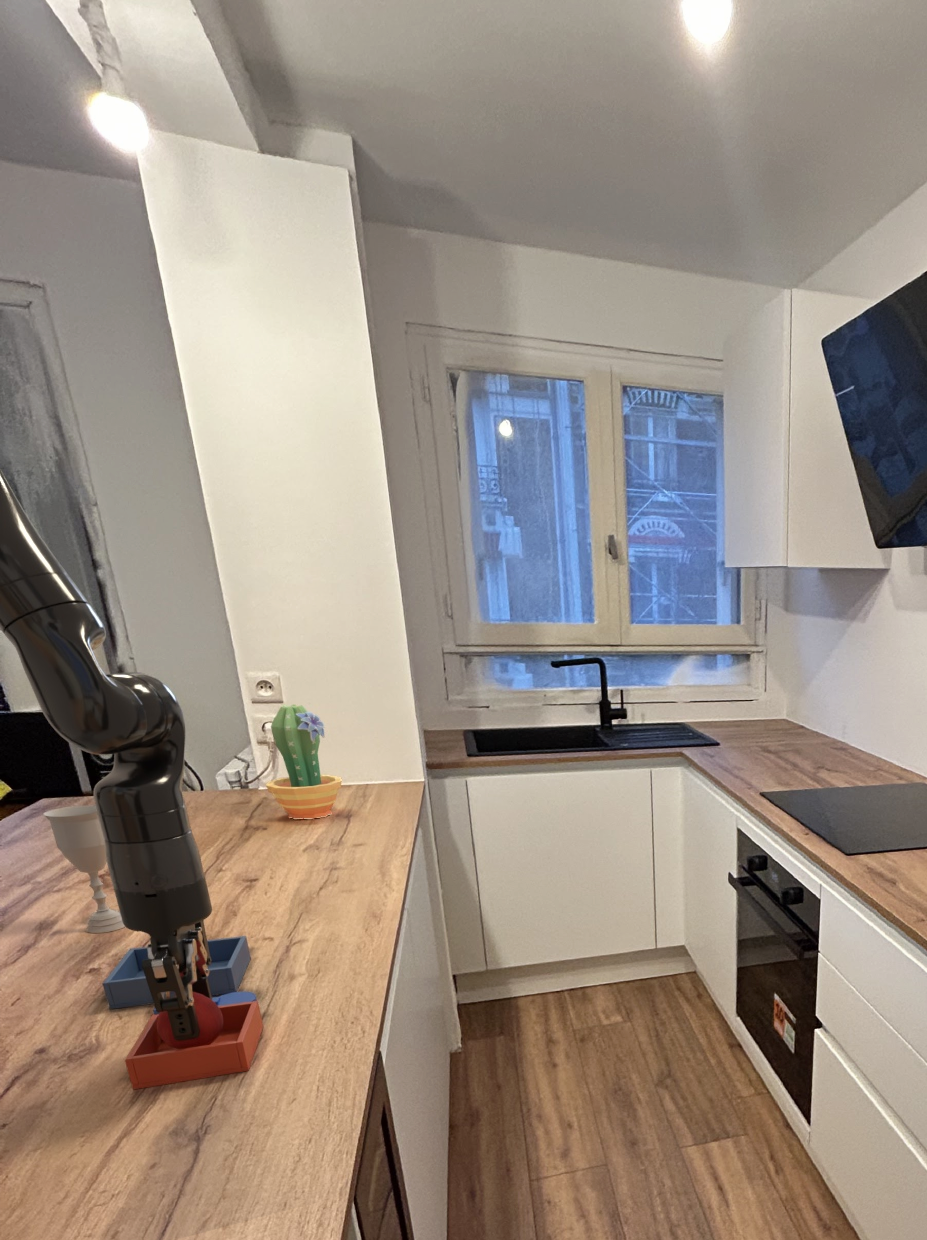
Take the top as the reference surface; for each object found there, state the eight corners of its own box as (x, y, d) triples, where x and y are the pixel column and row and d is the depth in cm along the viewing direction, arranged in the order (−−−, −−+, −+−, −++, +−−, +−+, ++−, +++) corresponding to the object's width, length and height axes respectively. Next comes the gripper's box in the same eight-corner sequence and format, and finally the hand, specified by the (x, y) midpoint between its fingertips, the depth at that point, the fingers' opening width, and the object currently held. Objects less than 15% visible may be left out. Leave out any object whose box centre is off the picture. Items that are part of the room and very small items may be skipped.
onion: (170, 1045, 90) (153, 980, 87) (231, 1035, 93) (217, 971, 90) (161, 1071, 85) (143, 1003, 83) (226, 1059, 88) (210, 992, 85)
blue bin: (109, 1009, 99) (102, 983, 97) (136, 972, 108) (129, 948, 107) (236, 992, 104) (230, 967, 102) (251, 958, 113) (246, 935, 112)
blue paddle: (152, 1030, 94) (149, 1016, 94) (163, 1012, 98) (160, 998, 98) (254, 1015, 98) (251, 1002, 97) (260, 998, 102) (258, 985, 102)
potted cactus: (281, 827, 177) (259, 711, 169) (264, 813, 188) (243, 703, 179) (356, 817, 187) (340, 706, 179) (336, 804, 198) (320, 700, 189)
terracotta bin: (132, 1089, 83) (124, 1060, 82) (159, 1042, 92) (152, 1014, 90) (248, 1070, 87) (242, 1042, 86) (263, 1027, 96) (258, 1000, 94)
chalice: (136, 915, 127) (107, 803, 121) (139, 928, 122) (109, 812, 116) (75, 925, 123) (42, 809, 117) (76, 939, 118) (42, 819, 112)
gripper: (134, 860, 87) (170, 1000, 93) (89, 904, 75) (133, 1063, 80) (217, 854, 90) (246, 990, 95) (186, 895, 77) (222, 1049, 83)
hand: (195, 1023), depth 88 cm, fingers open, 6 cm apart
